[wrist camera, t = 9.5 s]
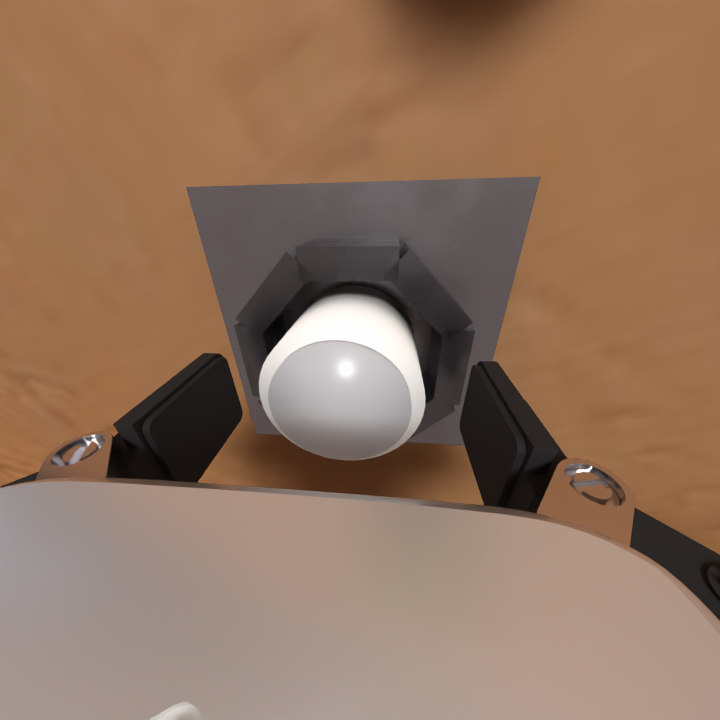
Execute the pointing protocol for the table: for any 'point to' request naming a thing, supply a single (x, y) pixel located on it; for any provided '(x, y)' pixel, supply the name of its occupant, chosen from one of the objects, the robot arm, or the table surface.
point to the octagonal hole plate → (370, 269)
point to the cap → (346, 376)
